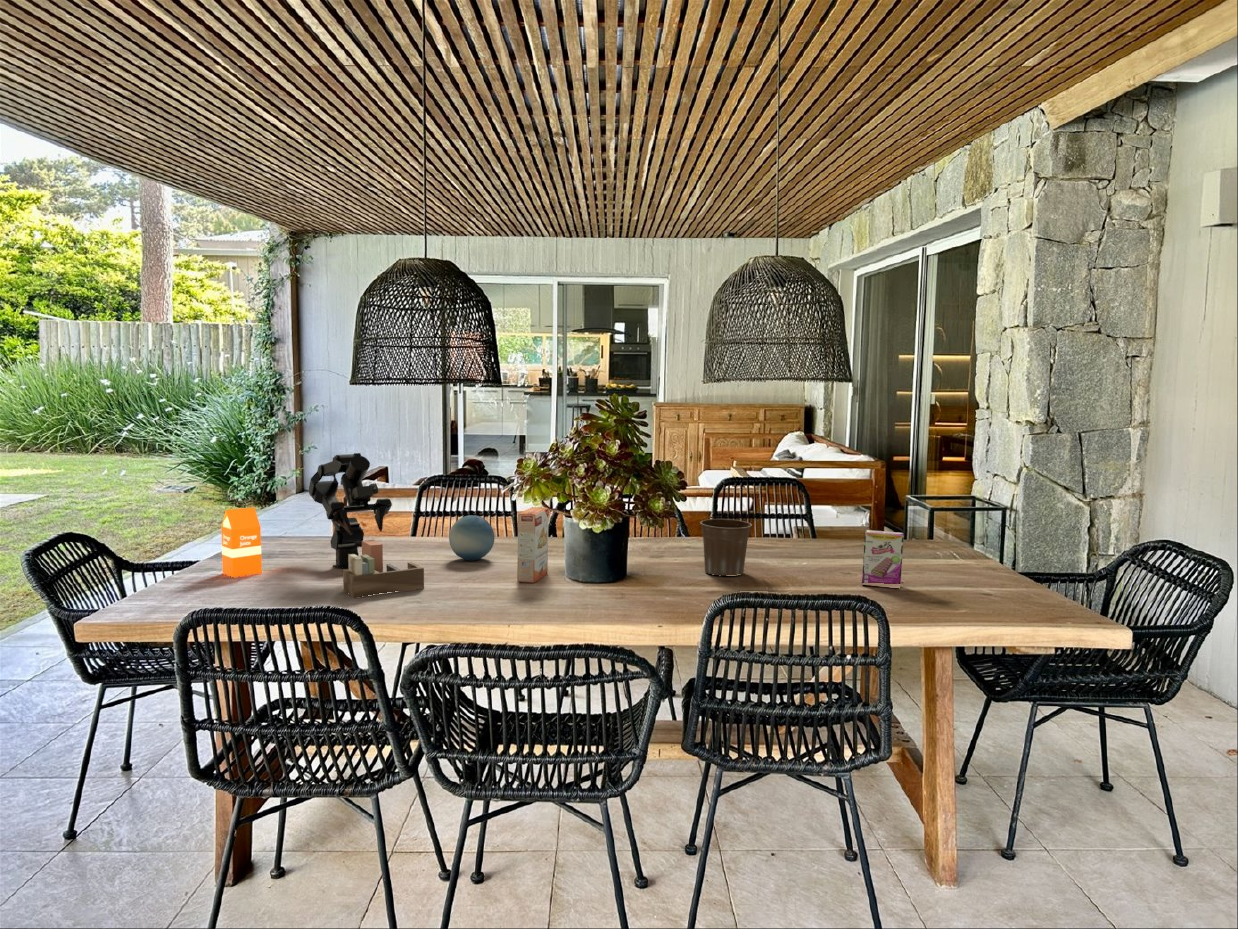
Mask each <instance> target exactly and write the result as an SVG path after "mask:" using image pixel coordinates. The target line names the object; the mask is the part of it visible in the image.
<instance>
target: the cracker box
mask: <svg viewBox="0 0 1238 929" xmlns="http://www.w3.org/2000/svg"><path fill="white" fill-rule="evenodd" d="M549 512H550V507H549V508H548V507H540V506H539V507H538V506H537V507H536V506H532V507H530V508H527V509H525V510H523V511H520V512H518V513H517V563H516V564H517V566H516V567H517V570H516V572H517V573H516V574H517V575H516V579H517V580H516V582H517V583H527V584H535V583H537V581H539V580H540V579H542V578H543V577H544V576H545V575H547V574H548V572H549V571H548V569H549V566H548V565H549V563H548V562H549V522H550V520H549V518H550V517H549V515H550V513H549Z"/></svg>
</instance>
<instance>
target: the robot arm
mask: <svg viewBox="0 0 1238 929" xmlns="http://www.w3.org/2000/svg"><path fill="white" fill-rule="evenodd" d="M370 466H371V463H370V460H369V459H368V458H366V456H363V455H361V452H357V453H355V452H354V453H350V454H348V453H347V454H336V455H334V457H332V461H329V462H326V463H324V464H320V465H318V466H317V471H316V472H315V473H314V474H313V476H312V477H311V478H310V481H309V486H308V494H309V496H310V497H311V499H312V500H313V501H314V502H315V503H318V504H321V505H322V506H323V508H324V510H325V513H326V517H327V520H328V521H331V523H332V524H333V526H334V531H333V534H332V536H331V539H330V547H331V548H332V549H334V550H335V564H333V565H332V568H338V569H344V570H346V569H348V570H349V562H348V554H355V555H357V556H359V555H360V554H359V551H358V550H359V549H358V548H362V541H364V536H365V532H364V530H363V528H362V527H361V524H360V523H359V522H358V519H357V518H356V517H348V513H354V512H356V513H357V512H358V513H359V512H369V511H373V513H374V514H375V515H374V520H375V523H376V526H377V528H378V531H379V532H381V533H382V532H383V526H384V525H383V524H384V517H385V515H387V514H388V513H389V512H390V509H391V508H392V506H393V503H392V500H391V499H390V498H388V497H387V498H386V497H385V498H377V500H376V501H375V503H370V502H371V497H374V496H375V495H377V494H379V487H378V484H377V483H370V484H369V485H363V481H362V480H364V479H365V476H366V475H367V473H368V471H369V468H370ZM338 474H342V475H341V477H340V483H339V482H338V479H337V477H336V475H338ZM323 477H333V480H325V481H321V480H322V478H323ZM339 484H340V485H342V488H343V492H344V495H345V496H344V500H345V501H346V502H347V505H345V503H344V502H343V501H339V500H338V498H337V492H338V488H339ZM359 557H360V556H359Z"/></svg>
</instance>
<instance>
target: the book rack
mask: <svg viewBox="0 0 1238 929" xmlns="http://www.w3.org/2000/svg"><path fill="white" fill-rule="evenodd" d="M348 562H349V569H343V570H342V579H343V580H342V583H343V584H342V585H343V590H344V591H346V592H347V593H349V594H350V595H351V596H352V597H351V596H350V595H349V594H348V595H349V596H350V597H351V598H353V599H358V598H357V597H360V598H363V597H362V596H368V595H373V594H379V593H387V592H395V591H404V592H409V590H411V591H416V589H418V590H423V589H425V569H424V568H425V567H422V566H421V565H418V564H417V563H415V562H413V561H407V569H401V568H398V567H396V566H394V565H393V564H391V563H387V564H386V568H385V569H386V571H383V572H380V573H379V572H378V571H376V570H375V561H374V558H372V557H370V556H368V555H366V554H365V555H362V554H360V556H357V555H355V554H348ZM344 591H343V592H344ZM346 592H345V593H346ZM347 593H346V594H347ZM368 597H369V596H368Z"/></svg>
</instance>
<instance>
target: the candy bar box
mask: <svg viewBox="0 0 1238 929" xmlns="http://www.w3.org/2000/svg"><path fill="white" fill-rule="evenodd" d="M904 538H905V534H904V532H896V531H895V532H894V531H886V530H885V531H882V530H871V529H865V532H864V540H863V543H864V544H863V557H862V558H863V560H862V574H861V575H862V576H861V584H862V583H884V584H902V569H903V555H904V554H903V553H904V552H903V551H904Z"/></svg>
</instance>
